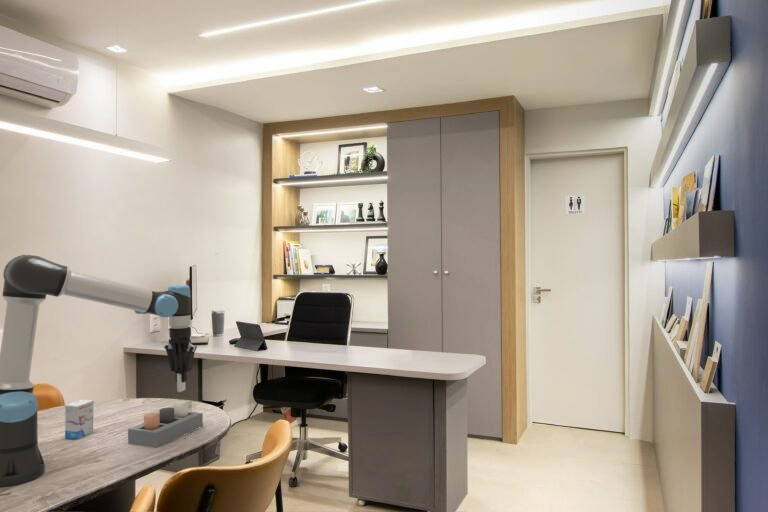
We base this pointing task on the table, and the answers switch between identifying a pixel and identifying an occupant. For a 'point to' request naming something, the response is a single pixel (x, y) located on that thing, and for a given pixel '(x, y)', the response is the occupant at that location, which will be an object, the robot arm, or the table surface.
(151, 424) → the button terracotta
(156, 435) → the panel
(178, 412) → the button ivory
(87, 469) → the table surface
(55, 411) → the table surface
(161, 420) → the button black
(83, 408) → the ink box
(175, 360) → the robot arm
